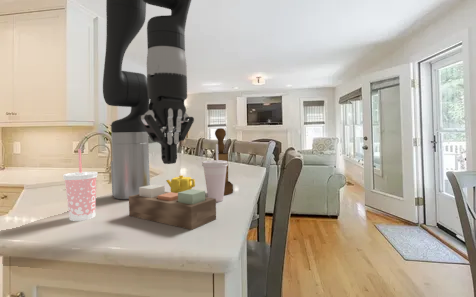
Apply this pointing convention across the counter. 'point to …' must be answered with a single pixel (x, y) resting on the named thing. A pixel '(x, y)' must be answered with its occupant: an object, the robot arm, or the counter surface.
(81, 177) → the beverage cup
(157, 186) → the offwhite key
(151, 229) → the counter surface
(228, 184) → the mortar and pestle
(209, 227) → the counter surface
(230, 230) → the counter surface
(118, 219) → the counter surface
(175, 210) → the key panel
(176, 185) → the teapot
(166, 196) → the terracotta key
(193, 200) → the sage key
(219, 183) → the smoothie
